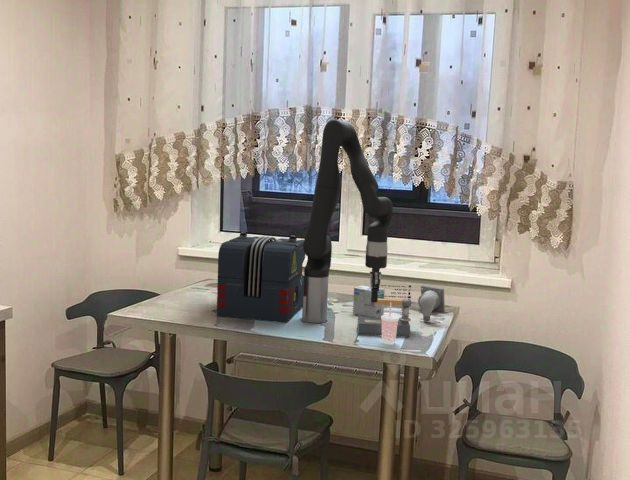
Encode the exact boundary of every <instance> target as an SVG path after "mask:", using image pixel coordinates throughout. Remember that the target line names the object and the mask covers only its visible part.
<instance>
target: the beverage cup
mask: <svg viewBox="0 0 630 480" xmlns="http://www.w3.org/2000/svg"><path fill="white" fill-rule="evenodd" d="M391 303H392V302H390V305H389V314H383V315H382V316H380V318H381V319H382V336H381V343H382V342H383V343H382V344H384V343H386V344H385V345H395V344H396V341H397V340H396V339H397V336H396V333H397V325H398V320H399V318H400V317H399V316H398V315H396V314H395V315H394V314H392V305H391ZM394 343H395V344H394Z"/></svg>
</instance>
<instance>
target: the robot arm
mask: <svg viewBox="0 0 630 480" xmlns="http://www.w3.org/2000/svg"><path fill="white" fill-rule="evenodd" d="M341 148H342V150H343V151H344V153H345V154H346V155H347V157H348V160H349V166H350V173H351V178H352V179H353V182H354V184H355V186H356V188H357V189H358V191H359V195H360V200H361V203H362V204H361V205H362V208H363V210H364V213H366V215H367V216H368V217H370V218H374V220H373V223H371V224H369V225H368V227H367V233H366V234H367V238H366V245H365V263H364V264H365V265H364V266H365V267H366V268H369V269H371V271H369V284H370V287H371V302H377V300H378V291H379V288H380V286H381V279H382V272H381V271H380V270H381V269H386V267H387V266H388V264H387V263H388V229H389V227H390V224H391V220H392V216H393V213H394V206H393V203H392V200H391V199H390V198H388V197H386V196H377V193H376V192H377V191H378V190H379V184H378V181H377V180H376V178H375V176H374V174H373V171H372V169H371V168H370V166H369V164H368V162H367V160H366V156H365V154H364V151H363V149H362V146H361V142H360V140H359V137H358V134H357V131H356V128H355V126H354V125H353V124H352V123H351V122H349V121H346V120H345V121H344V120H341V119H336V118H335V119H333V118H332V119H330V120H329V121H327V123H325V125H324V128H323V132H322V139H321V152H320V159H319V166H318V171H317V176H316V177H317V178H316V181H315V182H316V183H315V187H314V192H313V193H314V194H313V199H312V205H311V210H310V218H309V219H310V220H309V222H308V223H309V224H308V227H307V229H306V234H305V237H304V239H303V240H304V243H303V249H304V252H305V256H306V257H307V261H306V265H305V266H304V270H303V271H304V273H303V276H304V293H303V307H302V315H301V316H302V317H301V319H302V320H301V321H302V322H306V323H313V324H318V323H319V324H320V323H326V322H327V319H328V299H329V278H330V277H329V275H330V269H331V264H332V252H333V251H332V249H333V246H332V240H331V238H330V236H329V235H328V230H329V225H330V222H331V219H332V217H333V214H334V212H335V210H336V207H337V205H338V203H339V198H340V192H341V188H342V179H341V172H340V169H339V153H340V149H341Z"/></svg>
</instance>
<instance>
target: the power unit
mask: <svg viewBox="0 0 630 480" xmlns="http://www.w3.org/2000/svg"><path fill="white" fill-rule="evenodd" d="M303 243H304V239H297V236H296V235H290V236H289V238H278V239H277V238H276V237H274V236H265V235H263V236H248V234H247V232H245V231H243V232H240V233H239V236H237V237H234V238H232V239H229V240H227V241H224V242H222V243H221V244H220V246H219V249H218V256H217V294H216V295H217V296H216V297H217V298H216V316H217V317H220V318H221V317H222V318H230V319H243V320H253V321H262V322H263V321H264V322H274V323H283V324H284V323H285V324H286V323H288V322H289V321H290V320H291V319H292V318H294V316H295V315H296V314H297V313H298V312H299V311H300V310H302V309H303V293H304V274H303V263H304V261H305V259H306V254H305V252H304V249H303Z"/></svg>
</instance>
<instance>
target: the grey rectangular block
mask: <svg viewBox="0 0 630 480" xmlns="http://www.w3.org/2000/svg"><path fill="white" fill-rule="evenodd" d="M401 308H402V310H401V317H399V320H398V325H397V333H396V337H401V336H403V337H406V338H408V337H409V338H410V334H411V325H410V322H411V320H412V319H411V318H410V316H409V314H410V306H401ZM356 327H357V335H362V336H363V335H364V336H365V335H366V336H380V335H382V319H381V316H379V317H368V316H360V315H359V316H357V325H356ZM403 337H402V338H403Z"/></svg>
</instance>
